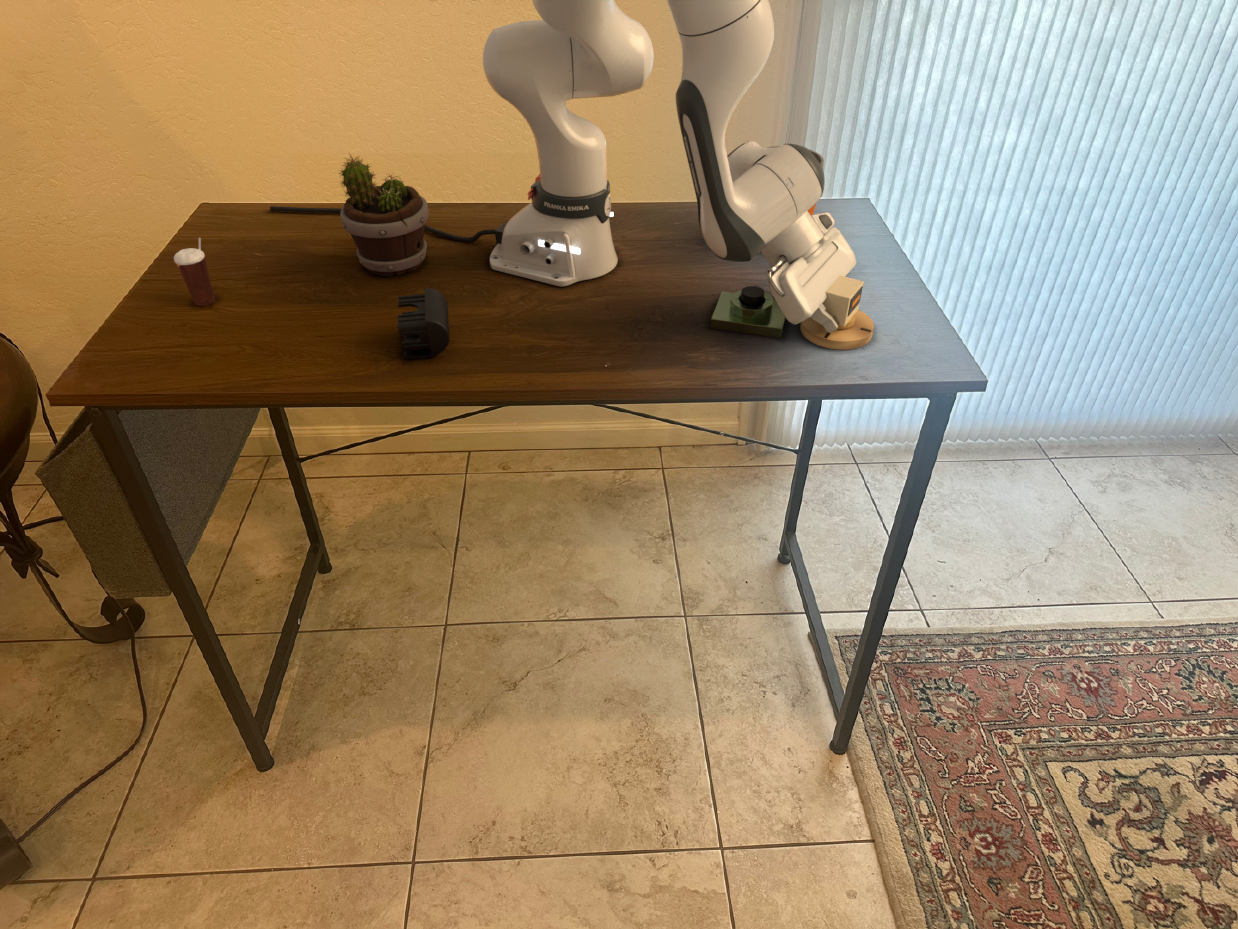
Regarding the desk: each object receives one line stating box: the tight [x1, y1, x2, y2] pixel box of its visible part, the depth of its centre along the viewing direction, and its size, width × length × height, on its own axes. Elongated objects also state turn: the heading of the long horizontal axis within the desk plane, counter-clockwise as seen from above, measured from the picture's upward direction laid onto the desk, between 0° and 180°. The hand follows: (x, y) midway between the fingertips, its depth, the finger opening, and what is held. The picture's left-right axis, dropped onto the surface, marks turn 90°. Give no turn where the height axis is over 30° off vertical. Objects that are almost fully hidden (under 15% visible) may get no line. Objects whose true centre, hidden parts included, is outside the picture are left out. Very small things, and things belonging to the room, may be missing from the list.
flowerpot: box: [337, 152, 430, 277], centre depth 145 cm, size 14×15×20 cm
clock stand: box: [799, 309, 875, 351], centre depth 133 cm, size 11×11×2 cm
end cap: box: [397, 287, 450, 361], centre depth 130 cm, size 10×7×7 cm
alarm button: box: [740, 285, 766, 306], centre depth 134 cm, size 4×4×2 cm
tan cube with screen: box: [823, 275, 865, 329], centre depth 131 cm, size 5×6×6 cm
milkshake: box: [173, 237, 216, 307], centre depth 139 cm, size 5×5×10 cm
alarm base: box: [710, 289, 787, 339], centre depth 136 cm, size 11×9×4 cm
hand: (844, 318), depth 132 cm, fingers closed on tan cube with screen, 6 cm apart
